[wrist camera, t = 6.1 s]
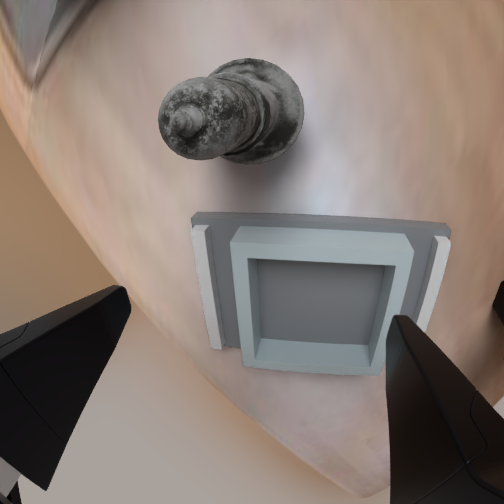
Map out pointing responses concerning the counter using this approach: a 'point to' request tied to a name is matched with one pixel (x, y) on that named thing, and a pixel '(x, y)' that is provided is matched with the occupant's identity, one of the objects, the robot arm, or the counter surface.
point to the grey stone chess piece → (233, 113)
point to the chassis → (314, 286)
